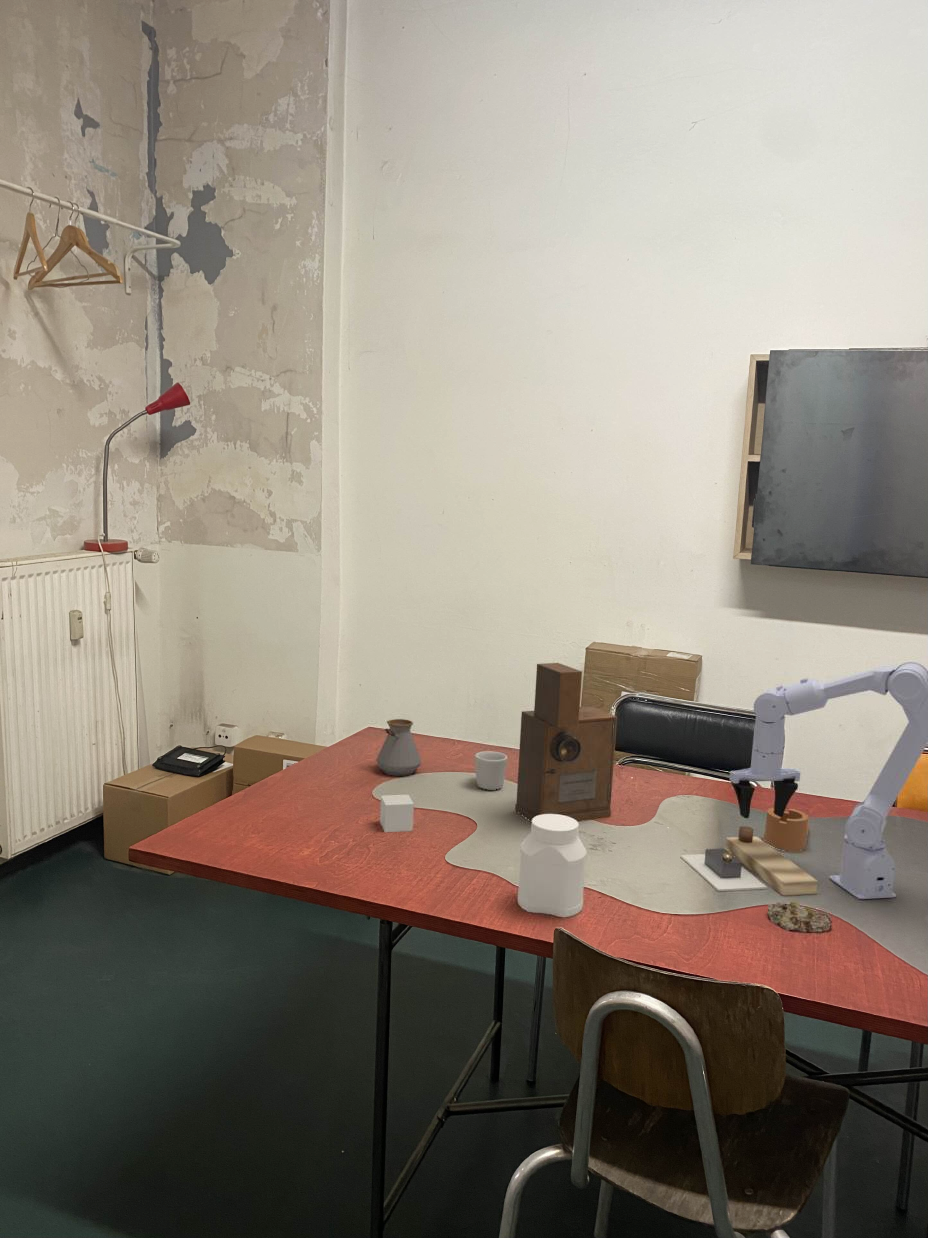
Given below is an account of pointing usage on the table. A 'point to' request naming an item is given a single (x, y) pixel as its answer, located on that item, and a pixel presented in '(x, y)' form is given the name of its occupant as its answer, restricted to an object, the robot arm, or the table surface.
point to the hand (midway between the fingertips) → (761, 815)
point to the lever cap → (723, 863)
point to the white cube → (396, 813)
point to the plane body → (770, 864)
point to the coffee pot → (399, 749)
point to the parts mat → (723, 884)
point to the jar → (552, 867)
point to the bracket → (787, 830)
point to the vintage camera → (565, 750)
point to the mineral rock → (798, 917)
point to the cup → (490, 769)
